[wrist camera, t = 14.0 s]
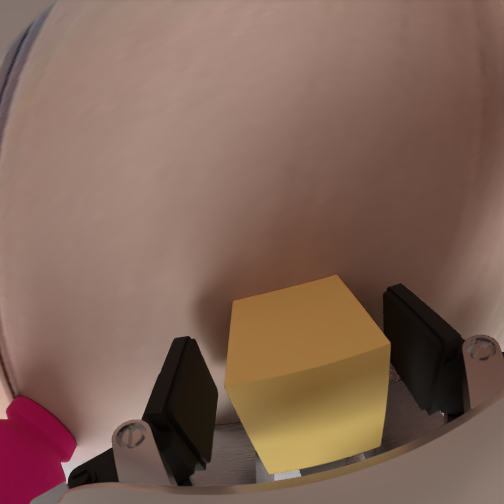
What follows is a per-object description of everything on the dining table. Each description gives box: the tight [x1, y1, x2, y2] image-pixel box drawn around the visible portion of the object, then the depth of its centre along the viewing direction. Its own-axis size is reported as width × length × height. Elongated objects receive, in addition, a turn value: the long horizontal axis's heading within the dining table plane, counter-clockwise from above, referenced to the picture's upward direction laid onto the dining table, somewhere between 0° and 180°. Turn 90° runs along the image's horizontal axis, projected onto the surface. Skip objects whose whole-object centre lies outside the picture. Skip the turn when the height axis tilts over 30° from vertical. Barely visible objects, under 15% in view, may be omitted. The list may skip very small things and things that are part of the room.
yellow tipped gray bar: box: [224, 275, 391, 476], centre depth 11 cm, size 4×20×5 cm, turn 14°
